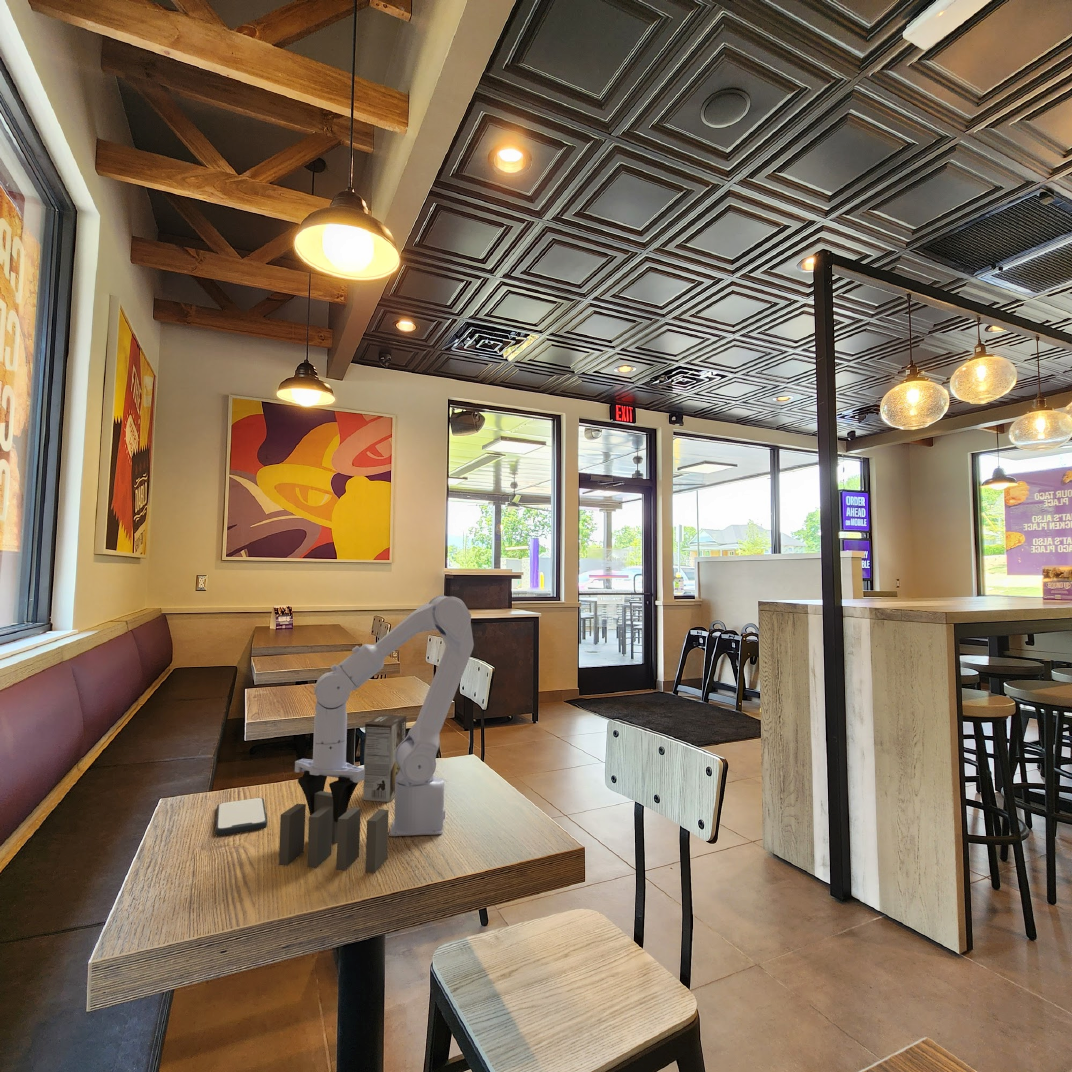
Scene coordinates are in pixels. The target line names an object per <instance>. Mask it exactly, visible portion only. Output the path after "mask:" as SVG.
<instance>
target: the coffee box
mask: <svg viewBox="0 0 1072 1072" xmlns="http://www.w3.org/2000/svg"><path fill="white" fill-rule="evenodd" d="M406 737H407V715H397V714H380V715H378V716H376V717H375V718H373V719H371V720H369V721H368V722H366V723H365V724H364V755H363V756H364V759H363V760H364V761H363V762H364V763H363V769H365V776H364V780H363V787H362V789H363V791H362V795H363V796H362V800H363V801H372V802H386V803H387V802H388V803H389V802H392V800H394V799H395V777H396V775H397V774H398V772H399V770H400V767H399V766H398V764H397V762H396V759H395V752H396V749H397V747H398V745H399V744H400V743H401V742H402V741H403V740H404V739H405V738H406Z"/></svg>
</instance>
